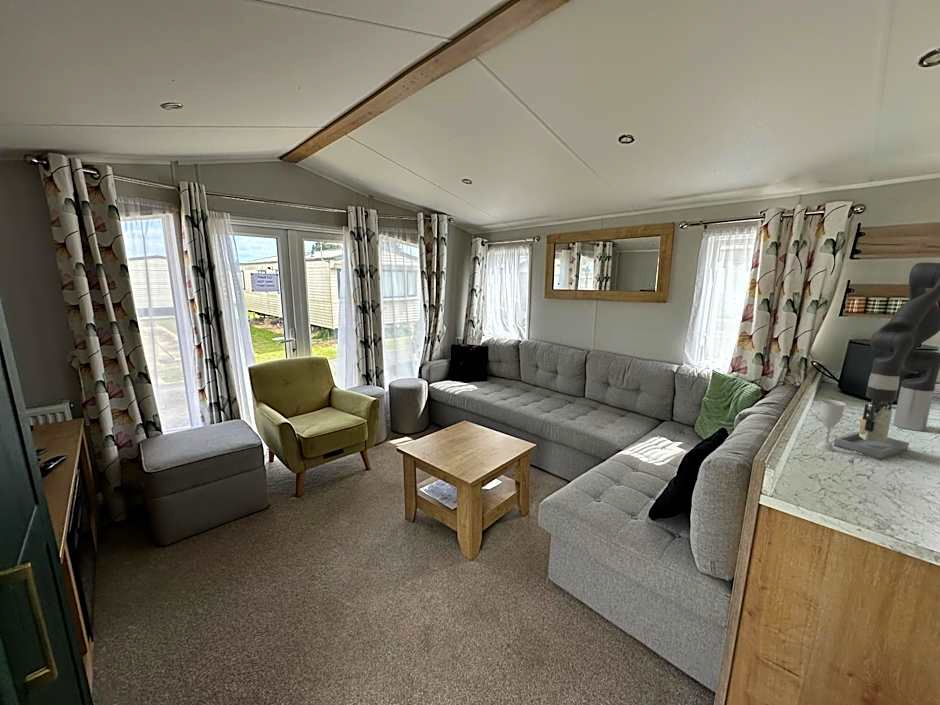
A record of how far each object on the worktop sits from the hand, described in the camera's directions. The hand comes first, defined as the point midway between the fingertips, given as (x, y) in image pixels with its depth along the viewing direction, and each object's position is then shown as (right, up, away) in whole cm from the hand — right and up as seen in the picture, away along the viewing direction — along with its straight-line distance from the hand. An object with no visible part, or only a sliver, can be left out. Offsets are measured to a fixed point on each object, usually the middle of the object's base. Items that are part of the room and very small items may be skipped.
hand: (874, 429), depth 143 cm
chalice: (-17, -8, +1) cm, 19 cm away
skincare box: (0, -4, +1) cm, 4 cm away
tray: (0, -7, +1) cm, 7 cm away
